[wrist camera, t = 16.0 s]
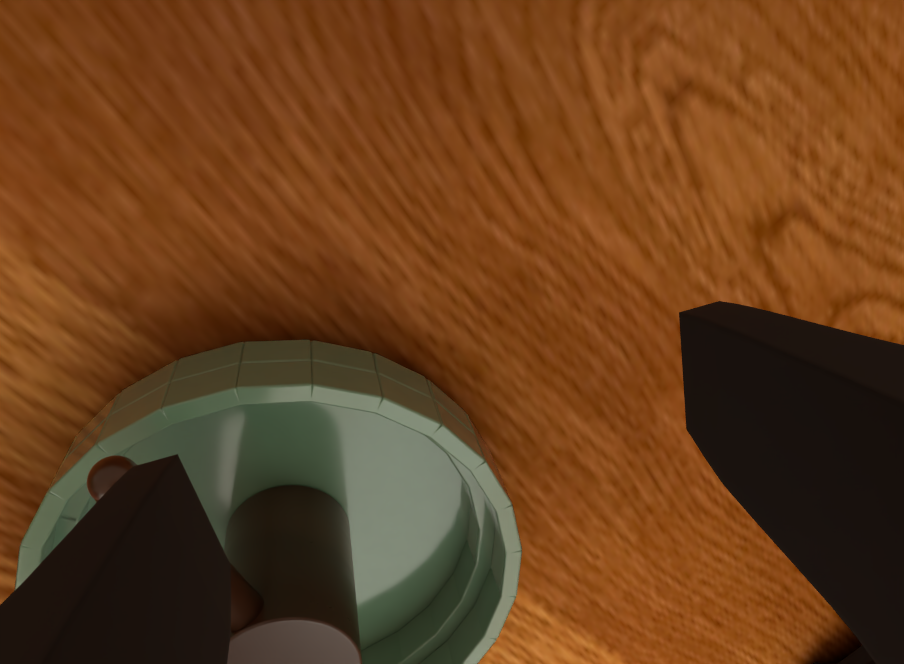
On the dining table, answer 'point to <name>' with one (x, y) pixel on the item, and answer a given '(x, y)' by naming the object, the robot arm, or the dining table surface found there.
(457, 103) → the dining table surface
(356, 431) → the green bowl
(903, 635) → the robot arm
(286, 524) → the scoop
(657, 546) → the dining table surface
